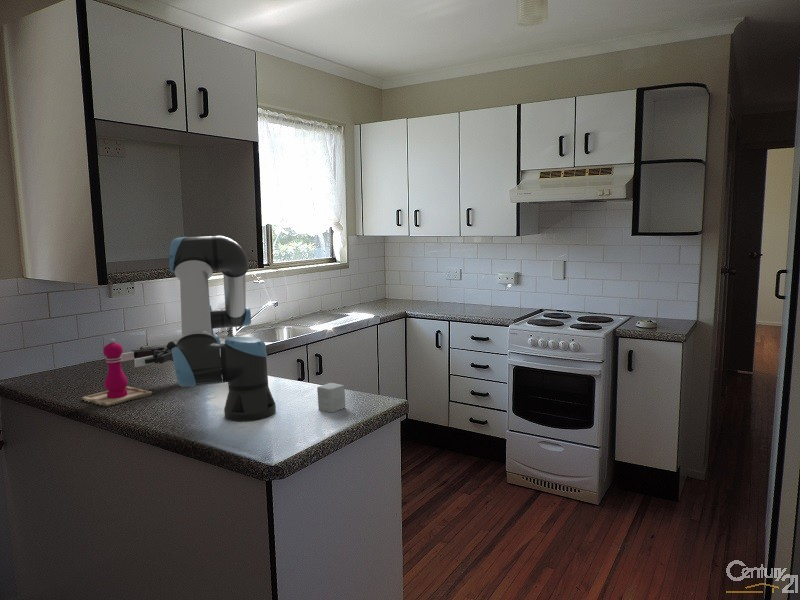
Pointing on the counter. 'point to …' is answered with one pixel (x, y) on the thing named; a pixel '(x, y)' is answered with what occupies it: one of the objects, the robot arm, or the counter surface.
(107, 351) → the pepper mill
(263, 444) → the counter surface
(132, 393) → the oak tray
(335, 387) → the product box
